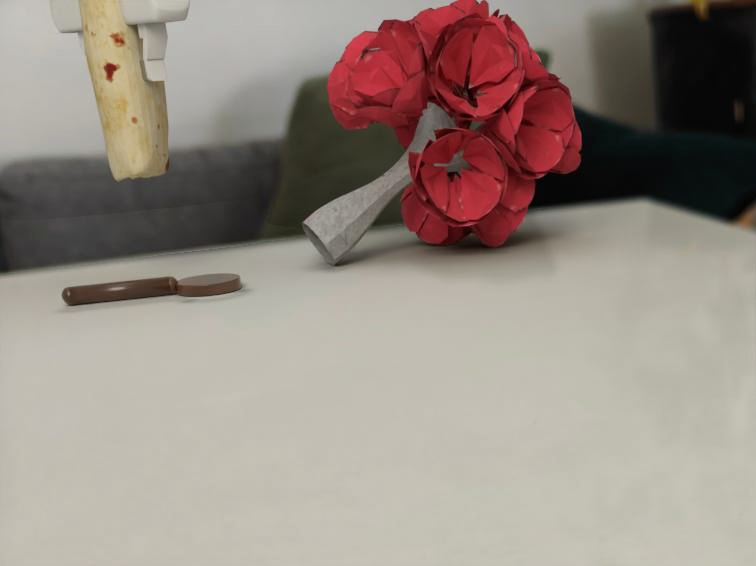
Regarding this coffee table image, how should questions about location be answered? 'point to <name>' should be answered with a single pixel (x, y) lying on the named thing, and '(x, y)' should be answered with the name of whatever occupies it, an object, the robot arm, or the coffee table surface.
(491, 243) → the bouquet
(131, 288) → the spoon
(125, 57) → the food model
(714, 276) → the coffee table surface
